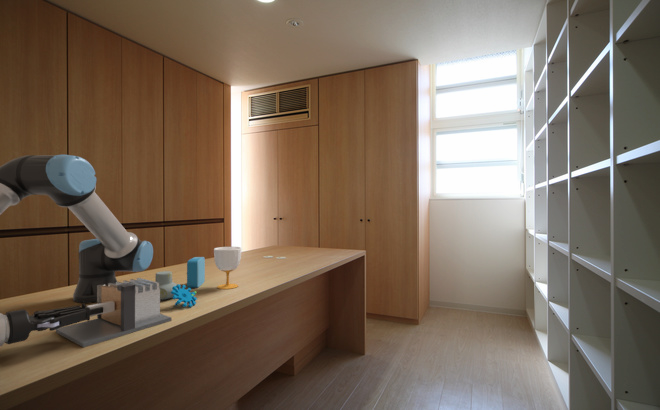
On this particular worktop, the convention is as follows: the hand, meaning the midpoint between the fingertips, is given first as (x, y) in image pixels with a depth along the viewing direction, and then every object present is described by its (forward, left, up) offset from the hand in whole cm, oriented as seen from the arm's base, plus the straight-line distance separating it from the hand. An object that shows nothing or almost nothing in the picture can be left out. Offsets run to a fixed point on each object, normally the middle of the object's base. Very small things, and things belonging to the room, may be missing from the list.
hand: (113, 306), depth 100 cm
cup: (-12, +53, -7) cm, 54 cm away
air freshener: (-18, +27, -7) cm, 33 cm away
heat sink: (-1, +7, -7) cm, 9 cm away
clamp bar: (-2, +1, -5) cm, 6 cm away
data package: (-26, +47, -7) cm, 54 cm away
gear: (-3, +26, -7) cm, 27 cm away
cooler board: (-1, +2, -7) cm, 7 cm away
